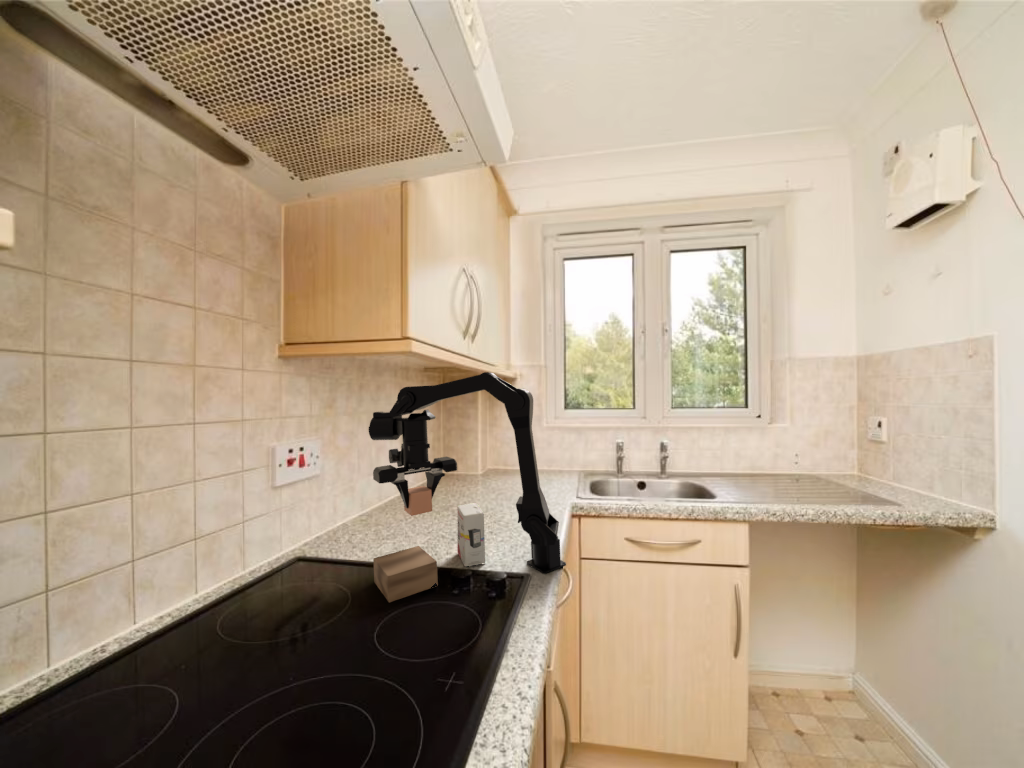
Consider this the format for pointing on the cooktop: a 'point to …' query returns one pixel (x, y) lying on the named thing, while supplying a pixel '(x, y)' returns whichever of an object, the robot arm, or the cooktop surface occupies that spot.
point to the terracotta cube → (419, 500)
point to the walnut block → (405, 573)
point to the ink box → (471, 534)
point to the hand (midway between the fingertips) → (418, 505)
